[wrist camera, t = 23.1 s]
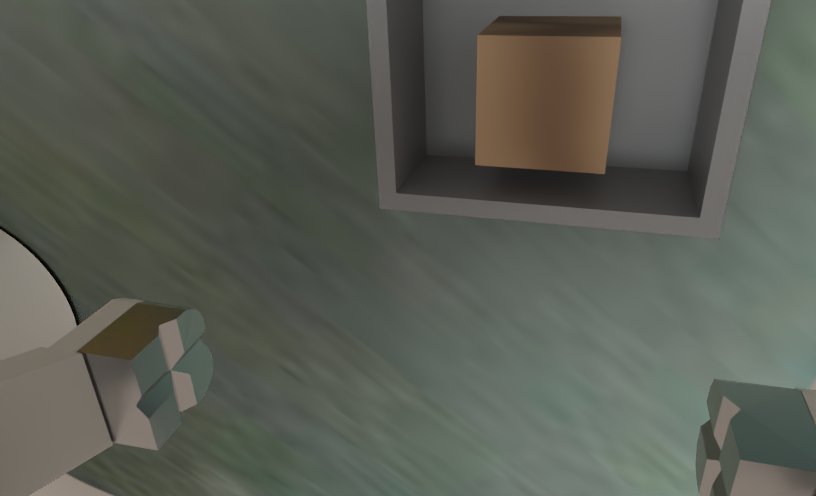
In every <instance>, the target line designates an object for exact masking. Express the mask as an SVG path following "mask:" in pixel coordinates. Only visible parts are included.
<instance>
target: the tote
mask: <svg viewBox="0 0 816 496" xmlns="http://www.w3.org/2000/svg"><path fill="white" fill-rule="evenodd" d="M770 4H771V0H366V10H367V25H368V41H369V56H370V71H371V87H372V102H373V117H374V133H375V148H376V163H377V179H378V194H379V209H387V210H399V211H410V212H421V213H432V214H443V215H455V216H466V217H477V218H488V219H500V220H511V221H522V222H533V223H544V224H556V225H567V226H578V227H589V228H601V229H612V230H623V231H634V232H646V233H657V234H668V235H679V236H690V237H702V238H713V239H719V237H720V232H721V228H722V223H723V219H724V214H725V210H726V205H727V200H728V196H729V191H730V187H731V182H732V178H733V173H734V168H735V164H736V159H737V155H738V150H739V146H740V141H741V137H742V132H743V127H744V123H745V118H746V114H747V109H748V105H749V100H750V96H751V91H752V86H753V82H754V77H755V73H756V68H757V64H758V59H759V55H760V50H761V45H762V41H763V36H764V32H765V27H766V23H767V18H768V14H769V9H770ZM499 16H609V17H621V45H620V53H619V61H618V70H617V78H616V86H615V94H614V103H613V111H612V119H611V127H610V136H609V144H608V152H607V160H606V169H605V174H596V173H581V172H567V171H553V170H538V169H524V168H510V167H495V166H481V165H475V144H476V86H477V35H478V34H479V33H481V32H482V31H483V30H484V29H485V28H486V27H488V26H489V25H490V24H491V23H492V22H493V21H494V20H496V19H497V18H498V17H499Z"/></svg>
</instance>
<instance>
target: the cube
mask: <svg viewBox="0 0 816 496" xmlns="http://www.w3.org/2000/svg"><path fill="white" fill-rule="evenodd" d="M620 45H621V17H609V16H499V17H498V18H497V19H496V20H494V21H493V22H492V23H491V24H490V25H489V26H488V27H486V28H485V29H484V30H483V31H482V32H481V33H479V34H478V35H477V86H476V144H475V165H481V166H495V167H510V168H524V169H538V170H553V171H567V172H581V173H596V174H605V169H606V160H607V152H608V144H609V136H610V127H611V119H612V111H613V103H614V94H615V86H616V78H617V70H618V61H619V53H620Z"/></svg>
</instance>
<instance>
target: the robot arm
mask: <svg viewBox="0 0 816 496" xmlns="http://www.w3.org/2000/svg"><path fill="white" fill-rule="evenodd" d="M205 331H206V329H205V325H204V321H203V317H202V314H201V313H200V312H198V311H197V310H195V309H194V308H188V307H181V306H175V305H169V304H162V303H156V302H150V301H142V300H135V299H128V298H118V299H112V300H111V301H110V302H108V303H107V304H106V305H104V306H103V307H102V308H100V309H99V310H98V311H96V312H95V313H94V314H92V315H91V316H90V317H88V318H87V319H86V320H84V321H83V322H82V323H81V324H79V325H78V326H77V325H76V321H75V318H74V315H73V312H72V310H71V307H70V305H69V303H68V301H67V299H66V297H65V295H64V294H63V292H62V290H61V289H60V287H59V285H58V284H57V283H56V281H55V280H54V278H53V277H52V276H51V274H50V273H49V272H48V271H47V269H46V268H45V267H44V266H43V265H42V264H41V263H40V261H39V260H38V259H37V258H36V257H35V256H34V255H33V254H32V253H30V252H29V251H28V250H27V249H26V248H25V247H24V246H23V245H21V244H20V243H19V242H18V241H16V240H15V239H14V238H12V237H11V236H9V235H8V234H6V233H5V232H4V231H2V230H1V229H0V496H29V495H30V494H32V493H34V492H35V491H37V490H39V489H40V488H42V487H43V486H45V485H47V484H49V483H50V482H52V481H54V480H55V479H57V478H59V477H60V476H62V475H64V474H65V473H67V472H69V471H71V470H72V469H74V468H76V467H77V466H79V465H81V464H82V463H84V462H86V461H87V460H89V459H91V458H92V457H94V456H96V455H97V454H99V453H101V452H102V451H104V450H106V449H107V448H109V447H111V446H112V445H113V443H117V444H123V445H129V446H135V447H141V448H147V449H153V450H158V449H159V448H160V447H161V446H162V445H163V444H164V442H165V441H166V440H167V439H168V438H169V437H170V435H171V434H172V433H173V432H174V431H175V430H176V428H177V427H178V426H179V425H180V424H181V422H182V413H181V412H182V411H184V410H186V409H188V408H190V407H192V406H194V405H196V404H198V402H199V401H200V400H201V398H202V397H203V396H204V395H205V393H206V392H207V390H208V387H209V384H210V382H211V379H212V375H213V361H212V356H211V351H210V350H209V349H208V348H207V346H206V345H205V344H204V343H203V342H202V341H201V338H202V336H203V334H204V332H205ZM707 405H708V410H709V415H710V420H709V421H707V422H706V423H705V424H703V425H702V426H701V428H700V433H699V438H698V443H697V453H696V478H697V485H698V491H699V494H700V495H701V496H816V390H810V389H800V388H795V389H790V388H782V387H774V386H767V385H759V384H751V383H743V382H735V381H727V380H720V379H714V381H713V383H712V385H711V387H710V391H709V395H708V398H707Z"/></svg>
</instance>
